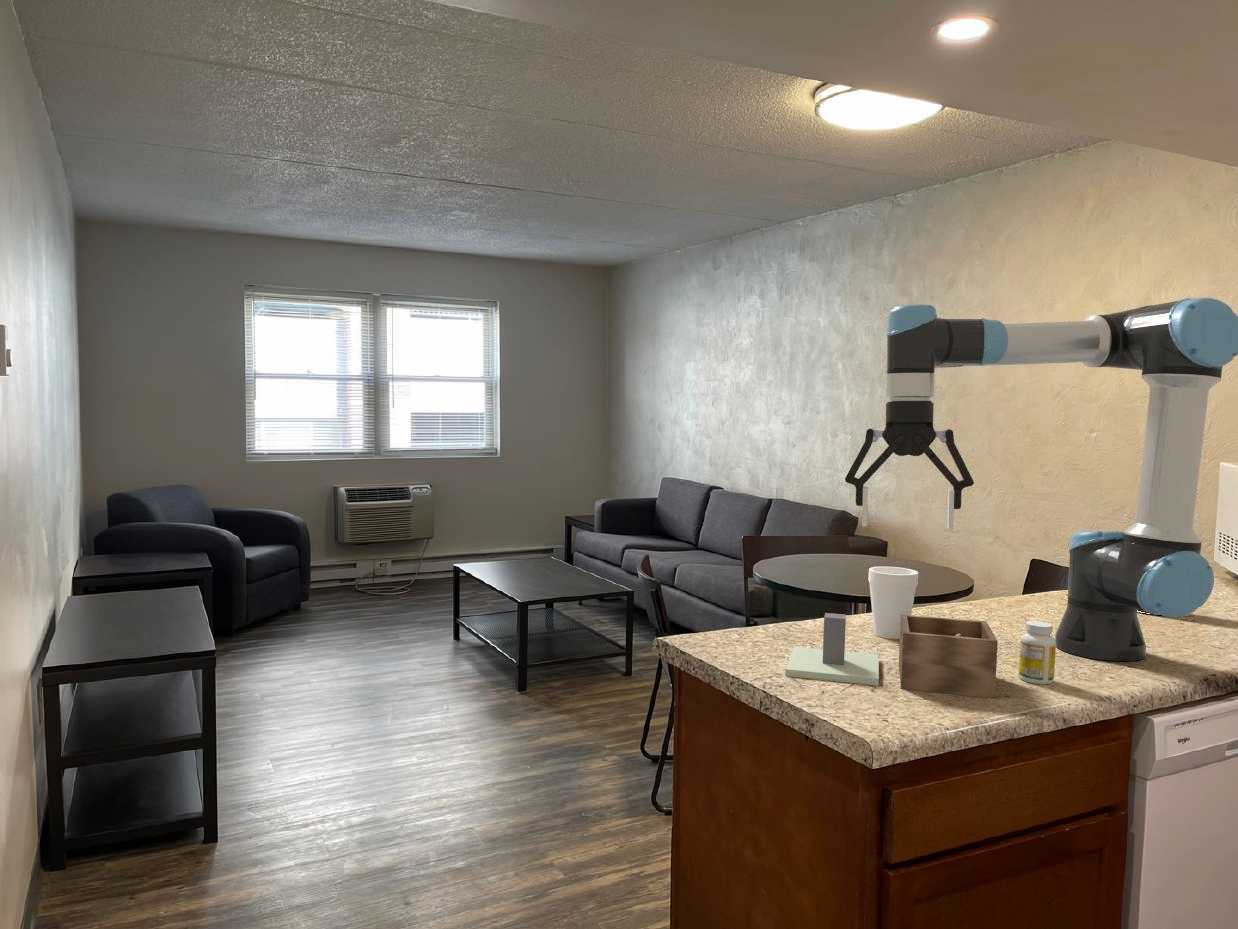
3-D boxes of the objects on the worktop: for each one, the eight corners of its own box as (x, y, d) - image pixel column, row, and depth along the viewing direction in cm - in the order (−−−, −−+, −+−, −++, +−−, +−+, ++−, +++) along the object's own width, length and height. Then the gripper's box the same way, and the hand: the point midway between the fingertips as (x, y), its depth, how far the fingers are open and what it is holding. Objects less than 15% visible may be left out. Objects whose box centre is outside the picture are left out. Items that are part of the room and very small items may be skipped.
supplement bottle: (1029, 685, 145) (1032, 627, 144) (1012, 675, 150) (1015, 619, 150) (1060, 685, 145) (1063, 627, 145) (1042, 675, 151) (1045, 619, 150)
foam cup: (921, 634, 177) (924, 570, 176) (906, 643, 170) (909, 577, 169) (875, 627, 183) (878, 564, 182) (859, 635, 175) (861, 570, 175)
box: (984, 673, 151) (986, 621, 151) (994, 698, 138) (997, 641, 137) (898, 665, 155) (900, 614, 154) (900, 688, 142) (903, 633, 141)
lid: (878, 663, 157) (880, 610, 157) (878, 688, 143) (880, 630, 142) (792, 655, 161) (794, 603, 161) (784, 678, 147) (786, 621, 147)
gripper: (988, 399, 146) (985, 527, 147) (833, 400, 153) (831, 521, 155) (993, 399, 139) (989, 533, 140) (831, 399, 146) (828, 526, 147)
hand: (906, 527), depth 147 cm, fingers open, 13 cm apart
